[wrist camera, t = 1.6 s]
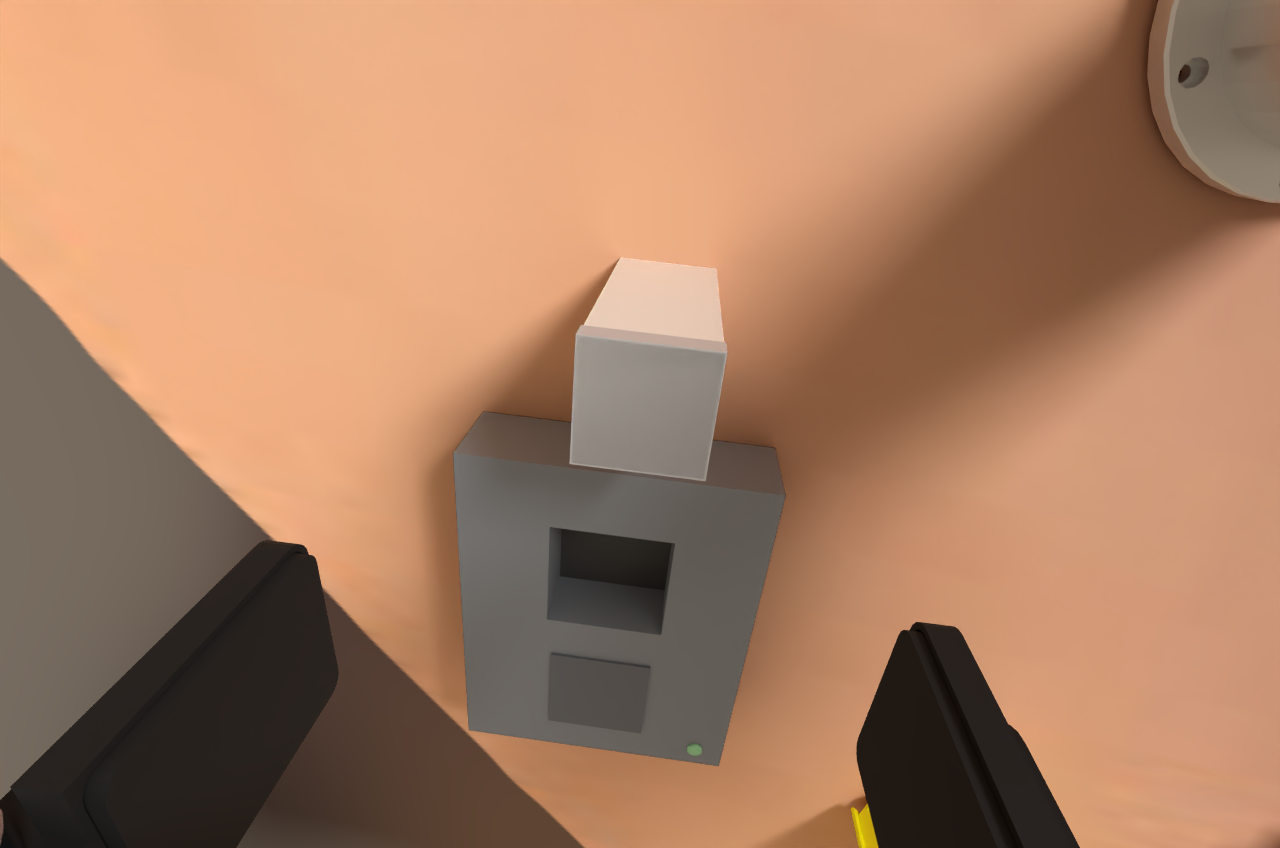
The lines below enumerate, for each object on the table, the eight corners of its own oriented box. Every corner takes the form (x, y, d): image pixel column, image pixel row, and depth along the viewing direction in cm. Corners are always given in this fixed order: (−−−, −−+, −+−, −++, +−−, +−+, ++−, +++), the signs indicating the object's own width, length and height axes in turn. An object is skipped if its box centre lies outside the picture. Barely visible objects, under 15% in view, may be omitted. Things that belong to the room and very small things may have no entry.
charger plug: (619, 255, 25) (575, 334, 16) (717, 267, 25) (727, 352, 16) (612, 348, 27) (569, 463, 18) (703, 359, 27) (705, 481, 18)
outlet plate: (483, 411, 29) (451, 454, 25) (775, 448, 29) (786, 497, 25) (490, 671, 37) (467, 732, 34) (716, 703, 37) (718, 768, 33)
